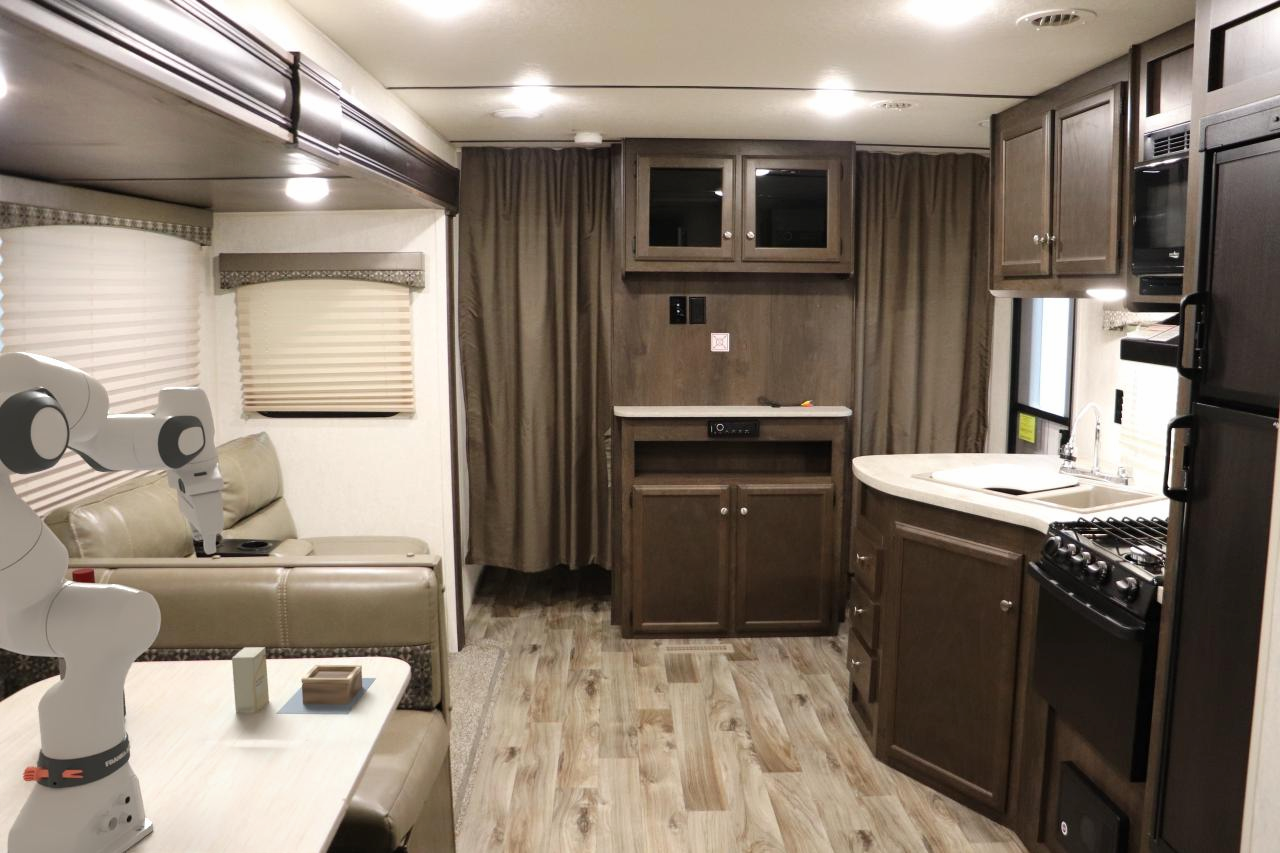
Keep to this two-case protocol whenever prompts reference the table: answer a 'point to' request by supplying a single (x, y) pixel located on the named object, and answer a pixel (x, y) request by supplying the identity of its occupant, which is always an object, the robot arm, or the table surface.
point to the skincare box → (250, 680)
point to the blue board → (298, 707)
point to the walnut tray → (331, 684)
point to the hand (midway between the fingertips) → (204, 545)
